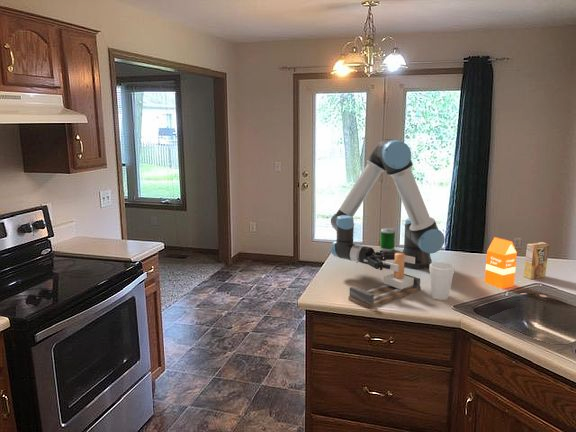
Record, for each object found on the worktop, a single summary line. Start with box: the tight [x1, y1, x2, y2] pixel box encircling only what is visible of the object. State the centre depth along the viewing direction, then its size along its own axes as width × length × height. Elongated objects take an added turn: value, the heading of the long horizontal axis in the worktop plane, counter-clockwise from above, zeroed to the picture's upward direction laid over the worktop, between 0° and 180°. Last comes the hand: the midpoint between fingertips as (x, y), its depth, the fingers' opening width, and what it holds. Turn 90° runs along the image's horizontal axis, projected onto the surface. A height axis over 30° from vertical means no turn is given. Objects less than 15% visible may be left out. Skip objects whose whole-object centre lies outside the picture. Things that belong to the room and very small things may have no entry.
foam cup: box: [428, 261, 455, 301], centre depth 183 cm, size 10×9×13 cm
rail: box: [348, 273, 422, 309], centre depth 187 cm, size 31×11×5 cm, turn 127°
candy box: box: [523, 241, 550, 280], centre depth 205 cm, size 9×4×15 cm, turn 110°
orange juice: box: [484, 236, 518, 290], centre depth 196 cm, size 8×9×20 cm
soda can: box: [379, 227, 396, 252], centre depth 250 cm, size 8×8×12 cm
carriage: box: [383, 253, 414, 289], centre depth 190 cm, size 8×9×13 cm
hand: (406, 264), depth 187 cm, fingers open, 13 cm apart
